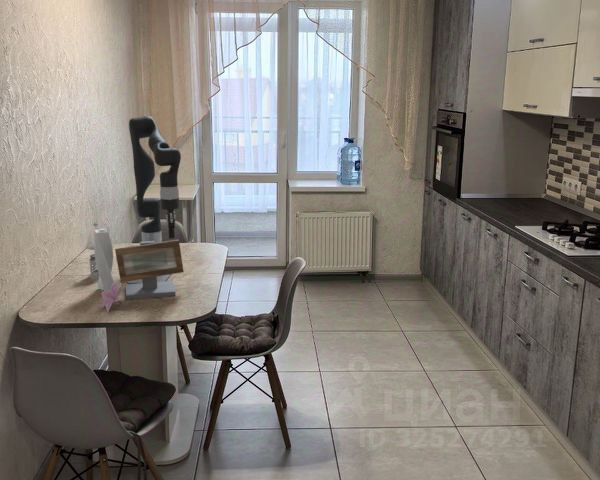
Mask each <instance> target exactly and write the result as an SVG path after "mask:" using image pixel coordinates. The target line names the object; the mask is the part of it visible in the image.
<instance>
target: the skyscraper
mask: <svg viewBox="0 0 600 480" xmlns="http://www.w3.org/2000/svg"><path fill="white" fill-rule="evenodd" d="M93 244H94V250H93V251H94V254H95V261H96V266H97V268H96V269H98V272H99V279H98V282H97V290H99V289H101V290H100V291H103V290H104V291H105V290H110V289H111V286H112V284H113V283H114V284H115V282H114V279H113V278H114V277H113V276H112V270H113V263H114V249H113V243H112V239H111V236H110V226H109V225H107V226H106V228H99V229H97V228H95V230H94V243H93Z"/></svg>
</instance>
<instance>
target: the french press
mask: <svg viewBox="0 0 600 480" xmlns="http://www.w3.org/2000/svg"><path fill="white" fill-rule="evenodd" d="M93 226H94V227H95V228H97V226H98V222H94V223H93ZM87 249H88V250H90V251H94V243H93V244H90V245H89V246H88V247H87ZM89 257H90V258H89V259H88V261H89V267H90V268H89V269H90V270H89V272H90V274H88V278H89V279H92V280H93V279H96V280H99V272H98V269H97V265H96V260H95V253H92V254H90V255H89Z"/></svg>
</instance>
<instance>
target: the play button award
mask: <svg viewBox="0 0 600 480" xmlns="http://www.w3.org/2000/svg"><path fill="white" fill-rule="evenodd" d="M172 275H173V274H169V275H163V276H157V282H164V281H169V279H170V277H172ZM139 283H142V279H139V280H133V281H127V283H126V284H139Z"/></svg>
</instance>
